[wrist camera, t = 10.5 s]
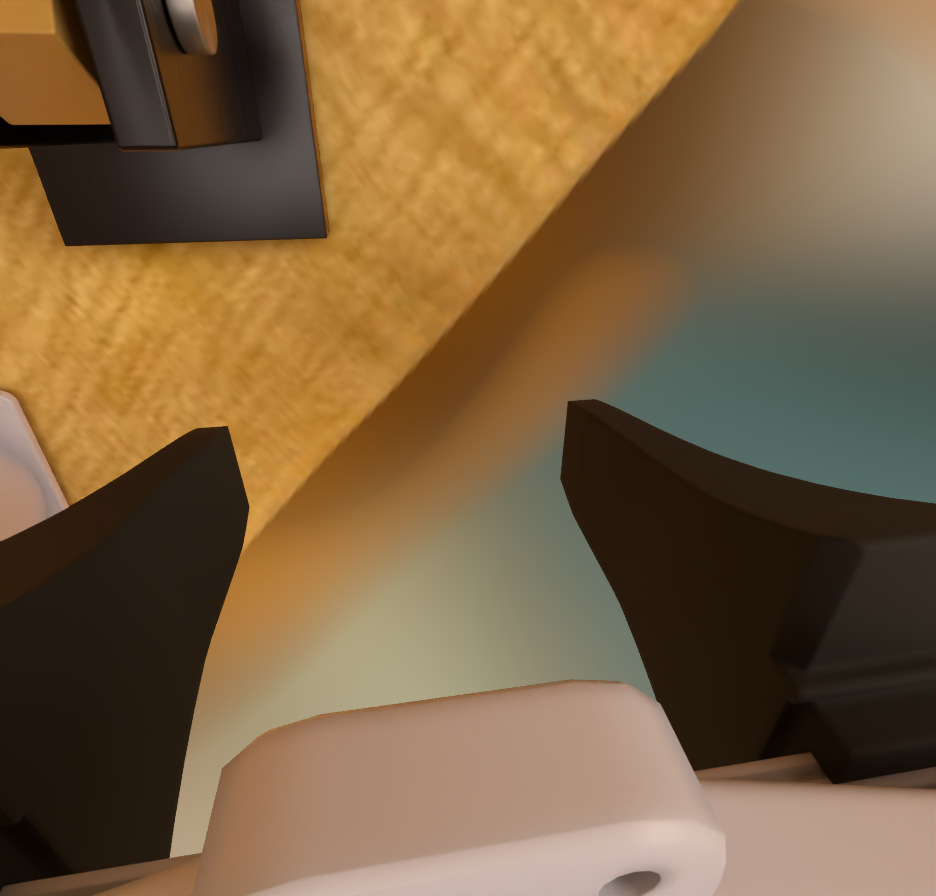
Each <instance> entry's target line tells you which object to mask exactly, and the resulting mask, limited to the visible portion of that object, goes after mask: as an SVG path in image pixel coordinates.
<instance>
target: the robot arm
mask: <svg viewBox="0 0 936 896" xmlns="http://www.w3.org/2000/svg"><path fill="white" fill-rule="evenodd" d="M560 478H561V482H562V485H563V488H564V491H565V494H566V497H567V500H568V502H569V505H570V508H571V510H572V513H573V515H574V517H575V519H576V521H577V523H578V525H579V527H580V529H581V531H582V533H583V535H584V536H585V538H586V540H587V542H588V544H589V546H590V548H591V550H592V552H593V553H594V555H595V557H596V559H597V561H598V563H599V565H600V566H601V568H602V570H603V572H604V574H605V576H606V578H607V580H608V581H609V583H610V585H611V587H612V589H613V591H614V593H615V595H616V597H617V599H618V601H619V603H620V605H621V608H622V610H623V612H624V615H625V617H626V620H627V622H628V625H629V627H630V630H631V633H632V635H633V637H634V640H635V643H636V645H637V648H638V650H639V653H640V656H641V659H642V661H643V664H644V667H645V669H646V672H647V675H648V678H649V680H650V683H651V686H652V688H653V691H654V694H655V697H656V700H657V701H655V700H654V699H652V698H650V697H649V696H647V695H645V694H644V693H642V692H641V691H639V690H637V689H636V688H634V687H632V686H631V685H629V684H626V683H622V682H618V681H597V680H564V681H558V682H550V683H543V684H536V685H528V686H521V687H514V688H508V689H500V690H493V691H485V692H478V693H471V694H464V695H457V696H449V697H443V698H435V699H428V700H421V701H413V702H406V703H399V704H392V705H385V706H378V707H371V708H363V709H356V710H349V711H342V712H334V713H327V714H321V715H317V716H314V717H311V718H308V719H305V720H301V721H298V722H295V723H292V724H288V725H285V726H282V727H278V728H275V729H272V730H269V731H267V732H265V733H264V734H262V735H260V736H259V737H257V738H256V739H255V740H254V741H253V742H252V743H251V744H249V745H248V746H247V747H246V748H245V749H244V750H243V751H241V752H240V753H239V754H238V755H237V756H236V757H235V758H234V759H232V760H231V761H230V762H229V763H228V764H227V765H226V766H225V767H223V768H222V772H221V776H220V780H219V784H218V788H217V793H216V797H215V801H214V805H213V809H212V813H211V818H210V822H209V826H208V830H207V834H206V839H205V843H204V847H203V851H202V853H199V854H192V855H187V856H180V857H174V858H169V857H170V850H171V843H172V835H173V829H174V822H175V816H176V810H177V804H178V798H179V791H180V786H181V779H182V773H183V768H184V761H185V756H186V751H187V746H188V740H189V735H190V730H191V725H192V720H193V714H194V709H195V704H196V700H197V695H198V691H199V686H200V681H201V677H202V672H203V667H204V663H205V659H206V656H207V652H208V648H209V645H210V642H211V638H212V635H213V633H214V630H215V627H216V624H217V621H218V618H219V615H220V612H221V609H222V607H223V604H224V601H225V598H226V595H227V592H228V589H229V586H230V583H231V581H232V578H233V575H234V572H235V569H236V565H237V562H238V560H239V557H240V553H241V550H242V547H243V542H244V537H245V532H246V526H247V520H248V513H249V503H248V499H247V496H246V492H245V488H244V485H243V481H242V477H241V473H240V470H239V466H238V462H237V459H236V455H235V451H234V447H233V444H232V440H231V436H230V433H229V429H228V426H223V427H209V428H196V429H194V430H192V431H190V432H188V433H186V434H185V435H183V436H181V437H180V438H178V439H176V440H175V441H173V442H172V443H170V444H169V445H167V446H166V447H164V448H163V449H161V450H159V451H158V452H156V453H155V454H153V455H152V456H150V457H149V458H147V459H146V460H144V461H143V462H141V463H140V464H138V465H137V466H135V467H134V468H132V469H131V470H129V471H128V472H126V473H125V474H123V475H121V476H120V477H118V478H117V479H115V480H113V481H112V482H110V483H108V484H107V485H105V486H103V487H102V488H100V489H98V490H97V491H95V492H93V493H92V494H90V495H88V496H87V497H85V498H83V499H82V500H80V501H79V502H77V503H75V504H73V505H72V506H70V507H69V505H68V503H67V501H66V499H65V497H64V495H63V493H62V491H61V489H60V487H59V484H58V482H57V480H56V478H55V476H54V474H53V472H52V470H51V468H50V466H49V464H48V462H47V460H46V458H45V455H44V453H43V451H42V449H41V447H40V445H39V443H38V441H37V439H36V437H35V435H34V433H33V431H32V429H31V426H30V424H29V422H28V420H27V418H26V416H25V414H24V412H23V410H22V408H21V406H20V404H19V402H18V400H17V399H16V398H15V397H14V396H13V395H12V394H10V393H8V392H5V391H0V896H936V504H934V503H926V502H919V501H911V500H903V499H895V498H888V497H882V496H877V495H871V494H866V493H859V492H854V491H849V490H844V489H839V488H834V487H830V486H825V485H820V484H815V483H812V482H808V481H803V480H800V479H796V478H792V477H788V476H784V475H780V474H776V473H773V472H769V471H766V470H763V469H759V468H756V467H753V466H750V465H747V464H744V463H741V462H739V461H736V460H732V459H729V458H727V457H724V456H721V455H719V454H715V453H713V452H710V451H708V450H706V449H703V448H701V447H699V446H696V445H694V444H692V443H689V442H687V441H684V440H682V439H680V438H678V437H676V436H673V435H671V434H669V433H667V432H665V431H663V430H660V429H658V428H656V427H654V426H652V425H650V424H648V423H646V422H644V421H642V420H640V419H638V418H636V417H634V416H632V415H630V414H628V413H626V412H624V411H622V410H620V409H618V408H615V407H613V406H611V405H609V404H606V403H604V402H601V401H598V400H595V399H593V400H578V401H568V407H567V418H566V427H565V437H564V447H563V457H562V467H561V477H560Z"/></svg>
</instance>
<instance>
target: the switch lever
mask: <svg viewBox="0 0 936 896" xmlns="http://www.w3.org/2000/svg"><path fill="white" fill-rule="evenodd" d="M0 116H1V117H2V118H3V119H4V120H5V121H7V122H8V123H9V124H12V125H80V124H110V121H109V118H108V114H107V111H106V108H105V104H104V101H103V97H102V94H101V91H100V87H99V84H98V81H97V77H96V74H95V71H94V67H93V64H92V61H91V57H90V54H89V50H88V47H87V44H86V40H85V37H84V34H83V30H82V27H81V24H80V20H79V17H78V14H77V10H76V7H75V3H74V0H0Z"/></svg>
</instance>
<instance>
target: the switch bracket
mask: <svg viewBox="0 0 936 896" xmlns="http://www.w3.org/2000/svg"><path fill="white" fill-rule="evenodd" d="M74 3H75V7H76V10H77V14H78V17H79V20H80V24H81V27H82V30H83V34H84V37H85V40H86V44H87V47H88V50H89V54H90V57H91V61H92V64H93V67H94V71H95V74H96V77H97V81H98V84H99V87H100V91H101V94H102V97H103V101H104V104H105V108H106V111H107V114H108V118H109V121H110V124H80V125H12V124H9V123H8V122H7V121H5V120H4V119H3V118H2V117H1V116H0V149H7V148H25V147H29V150H30V153H31V155H32V158H33V161H34V163H35V166H36V169H37V171H38V174H39V177H40V179H41V182H42V185H43V187H44V190H45V193H46V196H47V198H48V201H49V204H50V206H51V209H52V212H53V214H54V217H55V220H56V222H57V225H58V228H59V230H60V233H61V236H62V239H63V241H64V244H65V246H91V245H123V244H155V243H187V242H219V241H252V240H284V239H316V238H327V236H328V234H329V231H330V230H329V222H328V215H327V207H326V199H325V192H324V184H323V176H322V168H321V161H320V153H319V145H318V137H317V130H316V122H315V114H314V107H313V99H312V91H311V83H310V76H309V68H308V60H307V52H306V45H305V37H304V29H303V22H302V14H301V6H300V0H74Z"/></svg>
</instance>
